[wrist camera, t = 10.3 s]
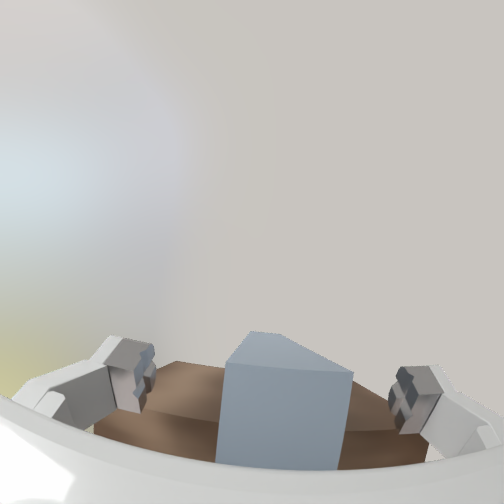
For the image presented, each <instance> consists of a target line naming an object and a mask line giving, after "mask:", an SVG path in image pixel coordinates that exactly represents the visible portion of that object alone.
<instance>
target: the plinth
mask: <svg viewBox="0 0 504 504" xmlns="http://www.w3.org/2000/svg"><path fill="white" fill-rule="evenodd" d="M224 374H225V368H219V367H212V366H205V365H198V364H191V363H186V362H180V361H175V362H173V363H170V364H168V365H166V366H164V367H161V368H159V369H157V370H156V380H155V384H154V387H153V389H152V392H150V393H148V394H146V395H147V402H146V404H145V406H144V408H143V410H142V412H141V414H139V413H135V412H130V411H126V410H122V409H118V408H116V409H117V410H115V411H114V412H112V413H111V414H109V415H107V416H106V417H104V418H103V419H101V420H99V421H98V422H96V423H95V424H94V434H96V435H99V436H102V437H105V438H108V439H111V440H115V441H118V442H121V443H125V444H128V445H132V446H136V447H139V448H143V449H147V450H151V451H156V452H160V453H164V454H169V455H174V456H179V457H184V458H189V459H194V460H200V461H206V462H213V463H215V459H216V449H217V439H218V430H219V420H220V411H221V401H222V392H223V383H224ZM395 417H396V416H395V415H394V414H393V413H391V412H390V409H389V406H388V401H387V400H385V399H384V398H382V397H380V396H378V395H377V394H375V393H373V392H371V391H370V390H368V389H366V388H365V387H363V386H361V385H359V384H358V383H356V382H354V381H353V382H352V389H351V396H350V402H349V409H348V415H347V421H346V427H345V432H344V438H343V443H342V448H341V453H340V458H339V463H338V467H337V470H357V469H373V468H384V467H394V466H403V465H410V464H417V463H424V462H425V458H426V454H427V449H428V446H429V442H428V441H427V440H426V439H425V438H423V437H422V436H421V435H420V433H413V434H398V432H397V429H396V426H395V423H394V419H395Z"/></svg>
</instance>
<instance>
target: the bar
mask: <svg viewBox="0 0 504 504" xmlns="http://www.w3.org/2000/svg"><path fill="white" fill-rule="evenodd" d="M353 374H354V372H352V371H350V370H348V369H346V368H344V367H342V366H340V365H338V364H336V363H334V362H332V361H330V360H328V359H326V358H324V357H323V356H321V355H319V354H316V353H315V352H313V351H311V350H309V349H307V348H305V347H303V346H301V345H299V344H297V343H296V342H294V341H292V340H290V339H288V338H286V337H284V336H282V335H281V334H273V333H264V332H254V331H251V332H250V333H249V334H248V335H247V336H246V338H245V339H244V340H243V341H242V343H241V344H240V345H239V346H238V348H237V349H236V351H234V353H233V354H232V355H231V356H230V358H229V359H228V360H227V361H226V365H225V374H224V383H223V392H222V401H221V411H220V420H219V430H218V439H217V449H216V459H215V463H220V464H227V465H235V466H244V467H254V468H266V469H281V470H314V471H325V470H337V467H338V463H339V458H340V453H341V448H342V443H343V438H344V432H345V427H346V421H347V415H348V409H349V402H350V396H351V389H352V382H353Z"/></svg>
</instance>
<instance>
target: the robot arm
mask: <svg viewBox="0 0 504 504" xmlns="http://www.w3.org/2000/svg"><path fill="white" fill-rule="evenodd" d="M154 355H155V352H154V346H153V345H152V344H150V343H145V342H141V341H136V340H132V339H127V338H122V337H118V336H114V335H111V336H109V337H108V338H107V339H106V340H105V341H104V343H103V344H102V345H101V346H100V347H99V349H98V350H97V351H96V352H95V354H94V355H93V356H92V357H91V358H90V360H89V361H88V360H83V361H80V362H77V363H74V364H72V365H69V366H66V367H63V368H61V369H58V370H55V371H52V372H50V373H47V374H44V375H41V376H38V377H35V378H32V379H29V380H28V381H27V382H26V383H25V384H24V385H23V386H22V388H20V390H19V391H18V392H17V393H16V394H15V395H14V396H13V397H12V399H9V398H6V397H5V396H3V395H1V394H0V504H504V417H502V416H501V415H499V414H497V413H496V412H494V411H492V410H491V409H489V408H487V407H485V406H484V405H482V404H480V403H479V402H477V401H475V400H474V399H472V398H470V397H469V396H467V395H465V394H463V393H462V392H457V391H456V389H455V388H454V386H453V384H452V383H451V381H450V380H449V378H448V376H447V375H446V373H445V372H444V370H443V369H442V367H441V366H439V365H427V366H405V367H400V369H399V370H398V372H397V374H396V378H397V380H398V381H397V382H396V383H395V384H394V385H392V387H391V389H390V392H389V397H388V406H389V409H390V412H391V413H393V414H394V415H395V416H396V417H395V419H394V423H395V426H396V429H397V432H398V434H413V433H420V435H421V436H422V437H423V438H425V439H426V440H427V441H428V442H429V443H430V444H431V445H432V446H433V447H434V448H435V449H436V450H437V451H439V453H441V454H442V455H443V456H444V457H445V458H446V459H441V460H436V461H430V462H424V463H417V464H410V465H403V466H394V467H384V468H373V469H357V470H325V471H314V470H281V469H266V468H254V467H244V466H235V465H227V464H220V463H213V462H206V461H200V460H194V459H189V458H184V457H179V456H174V455H169V454H164V453H160V452H156V451H151V450H147V449H143V448H139V447H136V446H132V445H128V444H125V443H121V442H118V441H115V440H111V439H108V438H105V437H102V436H99V435H96V434H93V433H90V432H87V431H84V430H85V429H87V428H88V427H90V426H91V425H93V424H95V423H96V422H98V421H99V420H101V419H103V418H104V417H106V416H107V415H109V414H111V413H112V412H114V411H115V410H117V409H116V408H118V409H122V410H126V411H130V412H135V413H139V414H141V412H142V410H143V408H144V406H145V404H146V402H147V395H146V394H148V393H150V392H152V389H153V387H154V384H155V380H156V365H155V364H154V362H153V361H152V359H153V357H154Z"/></svg>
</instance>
